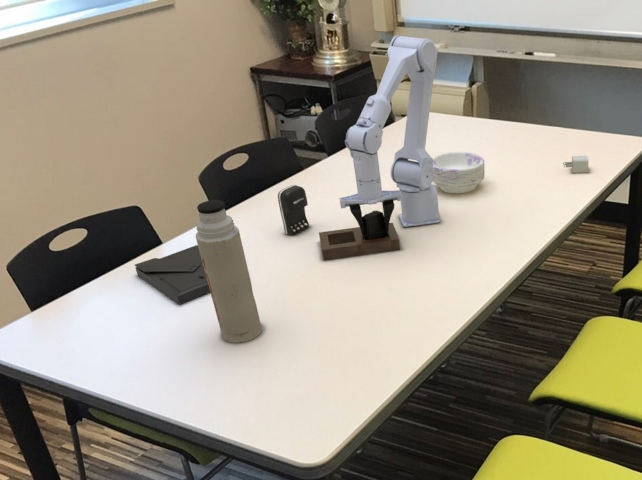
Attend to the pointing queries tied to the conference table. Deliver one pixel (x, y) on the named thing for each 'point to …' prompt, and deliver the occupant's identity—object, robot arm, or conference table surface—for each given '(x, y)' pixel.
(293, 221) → the battery charger
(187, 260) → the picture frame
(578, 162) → the usb wall charger
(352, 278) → the conference table surface
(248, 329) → the thermos bottle
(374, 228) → the ink cartridge
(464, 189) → the paper bowls
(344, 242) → the two-well brown tray
